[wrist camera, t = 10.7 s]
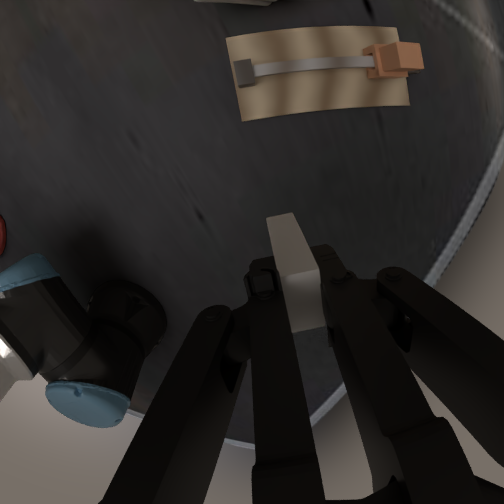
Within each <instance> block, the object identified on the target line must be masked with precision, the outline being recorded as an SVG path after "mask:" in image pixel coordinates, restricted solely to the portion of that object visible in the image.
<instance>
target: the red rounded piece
mask: <svg viewBox="0 0 504 504" xmlns="http://www.w3.org/2000/svg"><path fill="white" fill-rule="evenodd" d="M5 243H6V228H5V222H4V220H3V219H2V217H1V216H0V255H1V254H2V253H3V250H4V248H5Z"/></svg>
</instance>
